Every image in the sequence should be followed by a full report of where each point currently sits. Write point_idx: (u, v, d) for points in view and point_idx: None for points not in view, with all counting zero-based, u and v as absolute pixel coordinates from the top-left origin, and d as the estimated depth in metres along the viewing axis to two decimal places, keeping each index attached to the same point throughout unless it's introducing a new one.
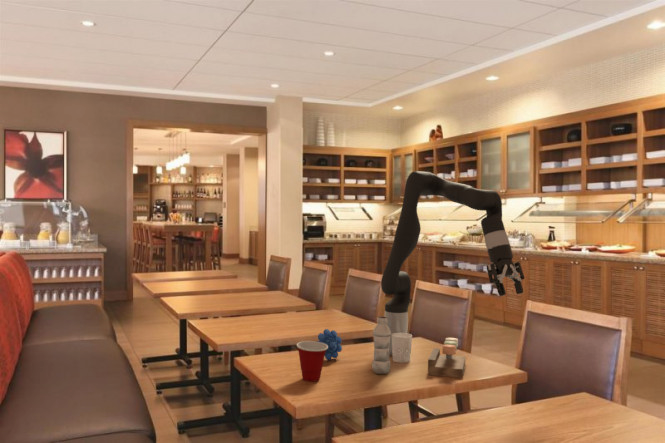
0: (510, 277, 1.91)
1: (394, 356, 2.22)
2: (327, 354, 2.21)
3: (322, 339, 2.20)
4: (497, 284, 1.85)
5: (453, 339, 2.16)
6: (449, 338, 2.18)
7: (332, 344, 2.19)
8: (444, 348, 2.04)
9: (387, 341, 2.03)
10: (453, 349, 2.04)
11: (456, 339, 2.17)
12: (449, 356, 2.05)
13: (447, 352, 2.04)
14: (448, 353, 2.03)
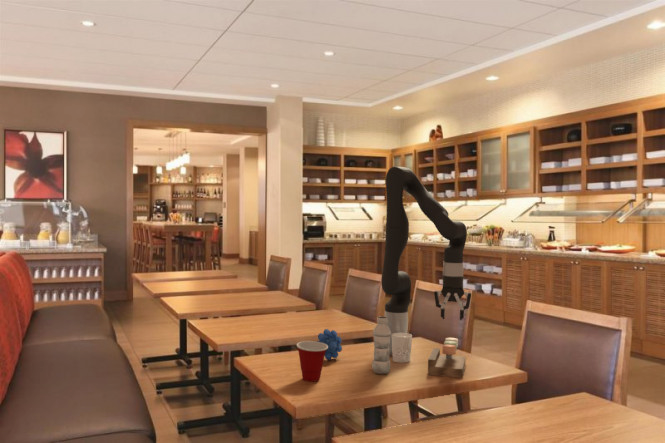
0: None
1: (394, 356, 2.22)
2: (327, 354, 2.21)
3: (322, 339, 2.20)
4: (440, 308, 2.18)
5: (453, 339, 2.16)
6: (449, 338, 2.18)
7: (332, 344, 2.19)
8: (444, 348, 2.04)
9: (387, 341, 2.03)
10: (453, 349, 2.04)
11: (456, 339, 2.17)
12: (449, 356, 2.05)
13: (447, 352, 2.04)
14: (448, 353, 2.03)
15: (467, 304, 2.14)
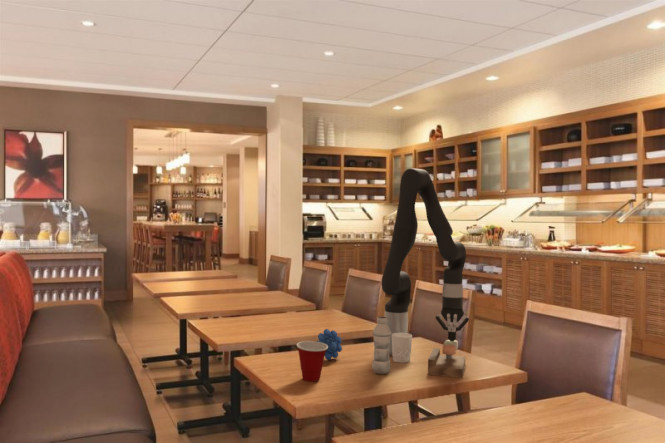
0: None
1: (394, 356, 2.22)
2: (327, 354, 2.21)
3: (322, 339, 2.20)
4: (448, 331, 2.17)
5: None
6: (449, 340, 2.18)
7: (332, 344, 2.19)
8: (444, 348, 2.04)
9: (387, 341, 2.03)
10: (453, 349, 2.04)
11: (456, 341, 2.17)
12: (449, 356, 2.05)
13: (447, 352, 2.04)
14: (448, 353, 2.03)
15: (460, 326, 2.15)
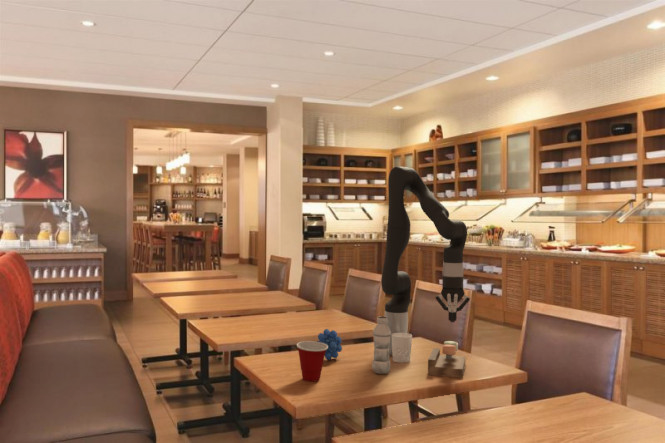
0: None
1: (394, 356, 2.22)
2: (327, 354, 2.21)
3: (322, 339, 2.20)
4: (448, 311, 2.13)
5: None
6: None
7: (332, 344, 2.19)
8: (444, 348, 2.04)
9: (387, 341, 2.03)
10: (453, 349, 2.04)
11: None
12: (449, 356, 2.05)
13: (447, 352, 2.04)
14: (448, 353, 2.03)
15: (461, 306, 2.10)
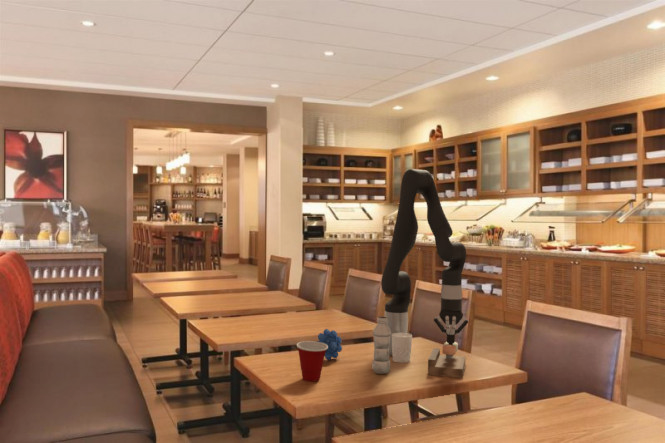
0: None
1: (394, 356, 2.22)
2: (327, 354, 2.21)
3: (322, 339, 2.20)
4: (446, 333, 2.12)
5: None
6: None
7: (332, 344, 2.19)
8: (444, 348, 2.04)
9: (387, 341, 2.03)
10: (453, 349, 2.04)
11: (456, 343, 2.17)
12: (449, 356, 2.05)
13: (447, 352, 2.04)
14: (448, 353, 2.03)
15: (459, 329, 2.09)
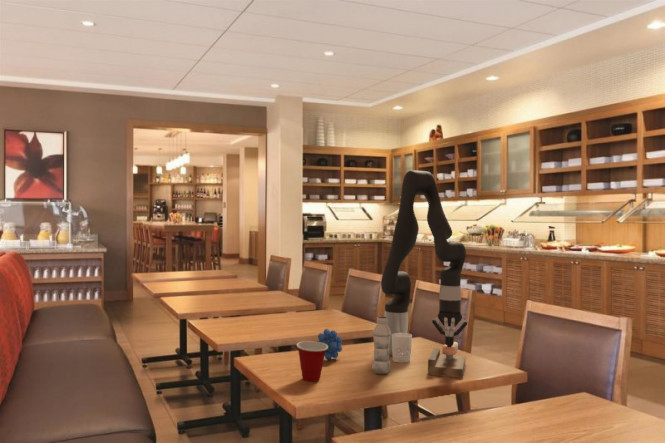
0: None
1: (394, 356, 2.22)
2: (327, 354, 2.21)
3: (322, 339, 2.20)
4: (445, 336, 2.06)
5: None
6: None
7: (332, 344, 2.19)
8: (444, 348, 2.04)
9: (387, 341, 2.03)
10: (453, 349, 2.04)
11: (456, 343, 2.17)
12: (449, 356, 2.05)
13: (447, 352, 2.04)
14: (448, 353, 2.03)
15: (458, 331, 2.03)
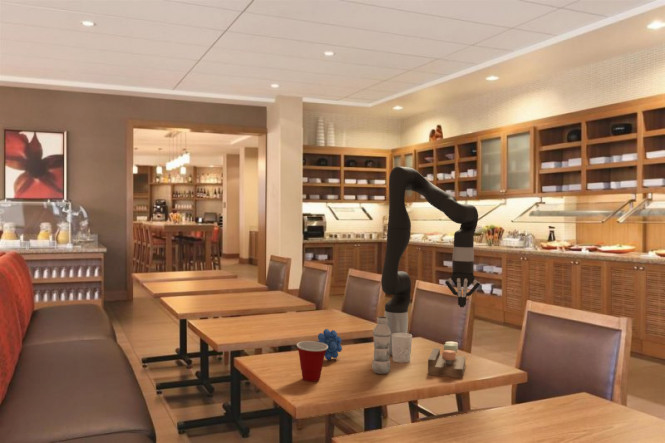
0: None
1: (394, 356, 2.22)
2: (327, 354, 2.21)
3: (322, 339, 2.20)
4: (458, 296, 2.11)
5: (453, 343, 2.16)
6: (449, 342, 2.18)
7: (332, 344, 2.19)
8: (444, 354, 2.04)
9: (387, 341, 2.03)
10: (453, 355, 2.04)
11: (456, 343, 2.17)
12: (449, 362, 2.05)
13: (447, 358, 2.04)
14: (448, 359, 2.04)
15: (471, 291, 2.08)
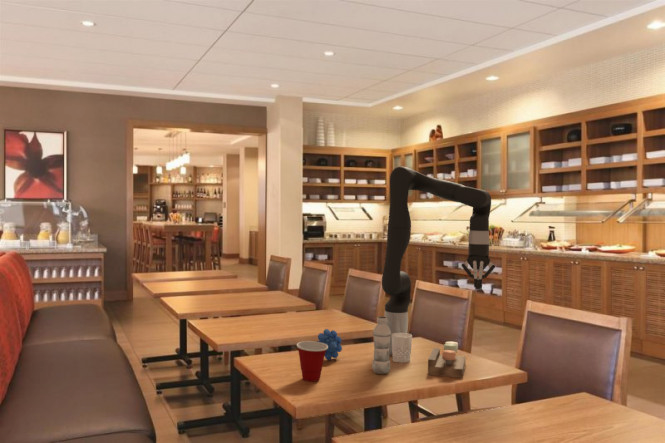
0: None
1: (394, 356, 2.22)
2: (327, 354, 2.21)
3: (322, 339, 2.20)
4: (474, 278, 2.17)
5: (453, 343, 2.16)
6: (449, 342, 2.18)
7: (332, 344, 2.19)
8: (444, 354, 2.04)
9: (387, 341, 2.03)
10: (453, 355, 2.04)
11: (456, 343, 2.17)
12: (449, 362, 2.05)
13: (447, 358, 2.04)
14: (448, 359, 2.04)
15: (487, 273, 2.15)
